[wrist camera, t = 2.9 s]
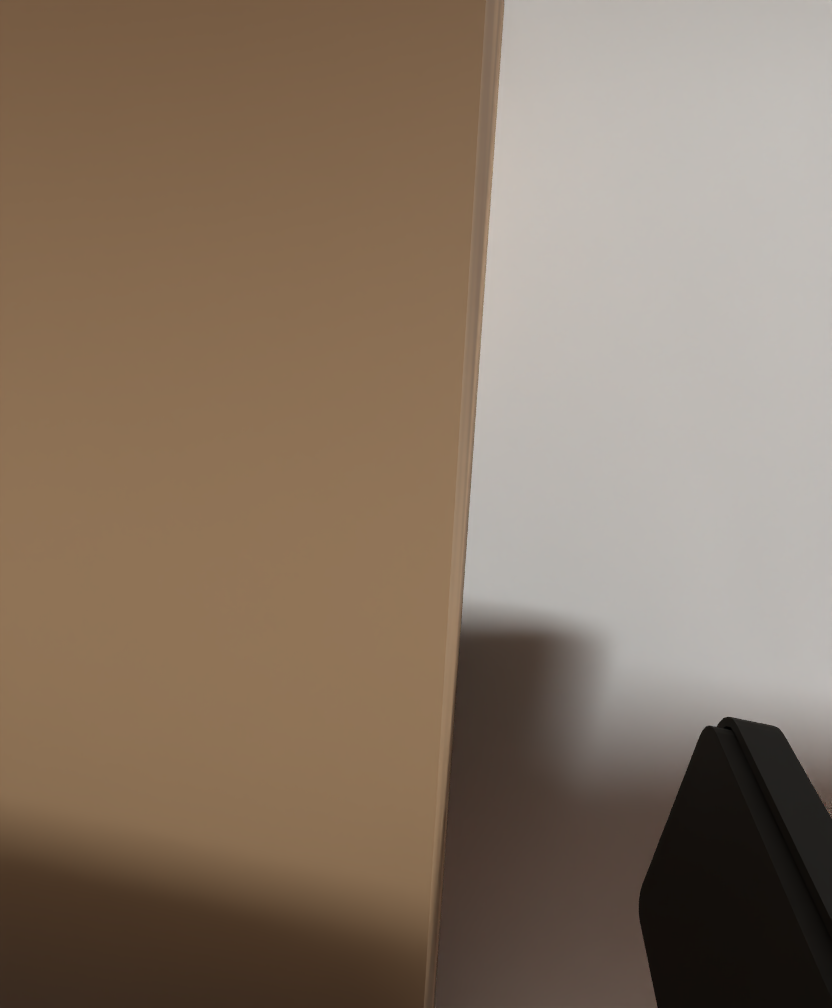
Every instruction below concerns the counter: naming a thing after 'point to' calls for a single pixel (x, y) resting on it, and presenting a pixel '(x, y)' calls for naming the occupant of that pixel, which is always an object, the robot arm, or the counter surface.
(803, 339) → the counter surface
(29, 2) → the brown rectangular block
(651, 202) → the counter surface
